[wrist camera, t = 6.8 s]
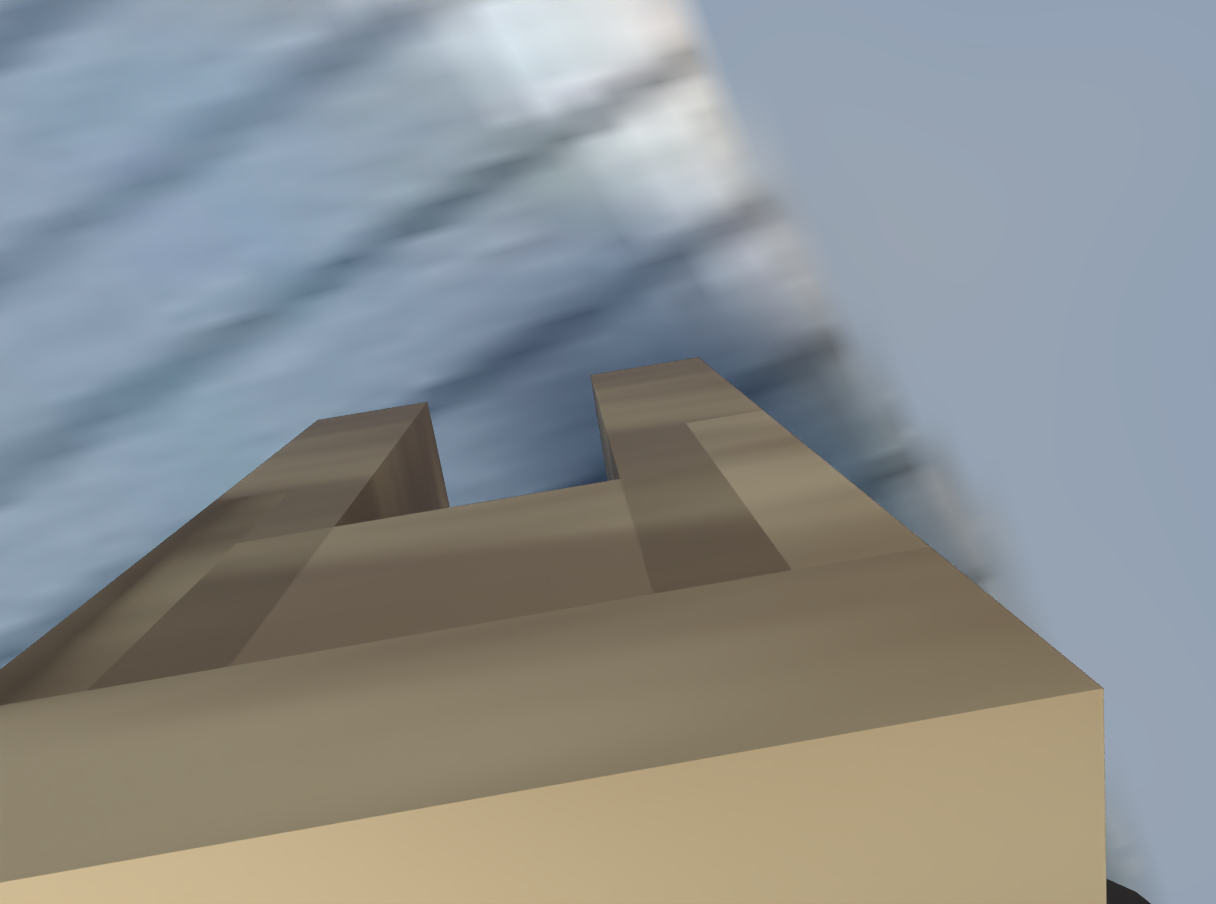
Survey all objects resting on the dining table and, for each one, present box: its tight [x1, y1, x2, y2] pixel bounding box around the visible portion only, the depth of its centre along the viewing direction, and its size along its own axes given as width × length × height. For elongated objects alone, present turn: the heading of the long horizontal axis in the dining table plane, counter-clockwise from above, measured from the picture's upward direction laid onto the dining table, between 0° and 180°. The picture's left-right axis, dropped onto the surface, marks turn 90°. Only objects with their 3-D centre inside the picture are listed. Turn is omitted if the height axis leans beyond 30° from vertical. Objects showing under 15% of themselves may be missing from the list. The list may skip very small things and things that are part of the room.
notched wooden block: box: [0, 357, 1106, 904], centre depth 11 cm, size 10×7×12 cm
